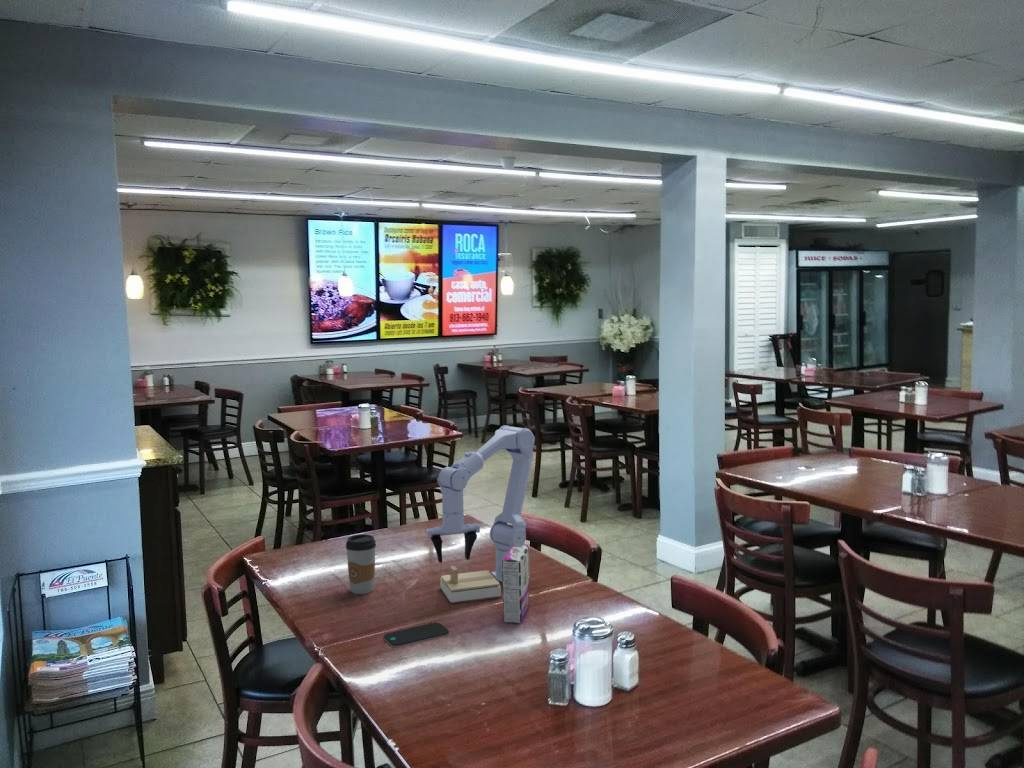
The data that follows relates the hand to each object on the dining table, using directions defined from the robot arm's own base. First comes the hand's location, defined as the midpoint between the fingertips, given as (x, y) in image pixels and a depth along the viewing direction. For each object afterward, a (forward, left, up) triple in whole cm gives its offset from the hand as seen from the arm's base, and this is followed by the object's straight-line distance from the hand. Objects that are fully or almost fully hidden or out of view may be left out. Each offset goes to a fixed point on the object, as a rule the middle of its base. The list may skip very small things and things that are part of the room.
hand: (453, 560), depth 215 cm
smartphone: (+15, +23, -10) cm, 29 cm away
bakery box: (-5, 0, -10) cm, 11 cm away
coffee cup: (+23, -12, -10) cm, 28 cm away
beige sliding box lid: (-5, 0, -6) cm, 8 cm away
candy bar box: (-12, +19, -10) cm, 24 cm away
